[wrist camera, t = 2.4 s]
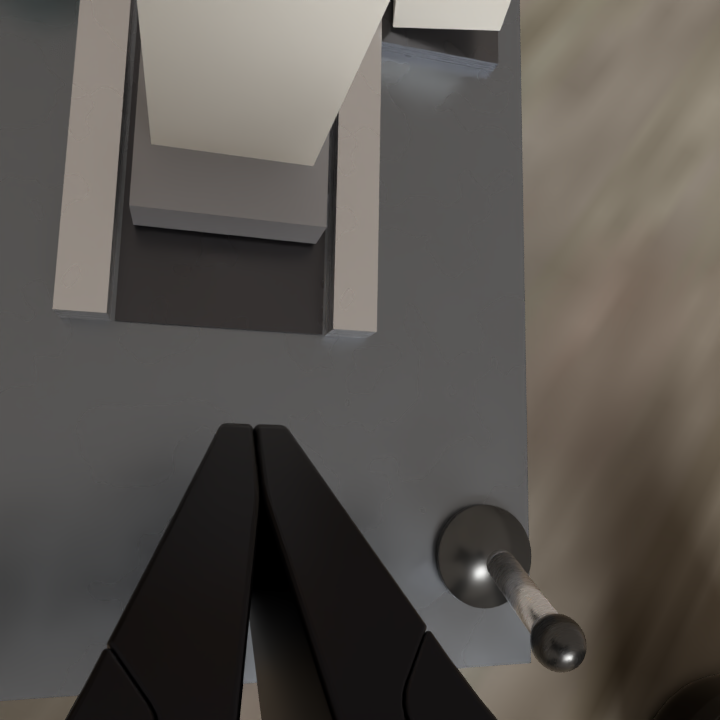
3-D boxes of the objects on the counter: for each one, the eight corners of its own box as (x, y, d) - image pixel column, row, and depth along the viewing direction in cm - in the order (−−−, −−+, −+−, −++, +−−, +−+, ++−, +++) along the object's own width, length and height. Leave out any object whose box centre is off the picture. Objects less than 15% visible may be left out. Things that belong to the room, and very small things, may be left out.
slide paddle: (315, 244, 18) (513, -61, 7) (133, 224, 17) (47, -177, 6) (320, 76, 19) (507, -425, 8) (146, 46, 17) (89, -595, 7)
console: (505, 647, 20) (550, 674, 17) (-194, 692, 15) (-266, 737, 13) (497, -59, 23) (533, -117, 21) (-75, -199, 19) (-113, -295, 16)
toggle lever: (510, 574, 18) (590, 682, 14) (470, 576, 17) (541, 686, 14) (519, 536, 17) (603, 637, 14) (478, 537, 17) (553, 639, 14)
